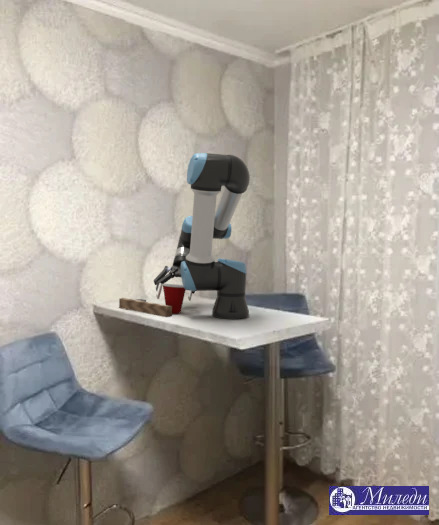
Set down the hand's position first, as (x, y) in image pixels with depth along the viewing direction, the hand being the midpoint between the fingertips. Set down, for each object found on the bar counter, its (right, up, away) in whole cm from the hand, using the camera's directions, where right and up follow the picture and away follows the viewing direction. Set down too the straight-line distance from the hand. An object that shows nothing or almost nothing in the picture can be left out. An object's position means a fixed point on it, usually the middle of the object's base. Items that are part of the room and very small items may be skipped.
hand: (173, 298), depth 197 cm
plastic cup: (0, -6, +2) cm, 7 cm away
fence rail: (-10, -6, +4) cm, 12 cm away
